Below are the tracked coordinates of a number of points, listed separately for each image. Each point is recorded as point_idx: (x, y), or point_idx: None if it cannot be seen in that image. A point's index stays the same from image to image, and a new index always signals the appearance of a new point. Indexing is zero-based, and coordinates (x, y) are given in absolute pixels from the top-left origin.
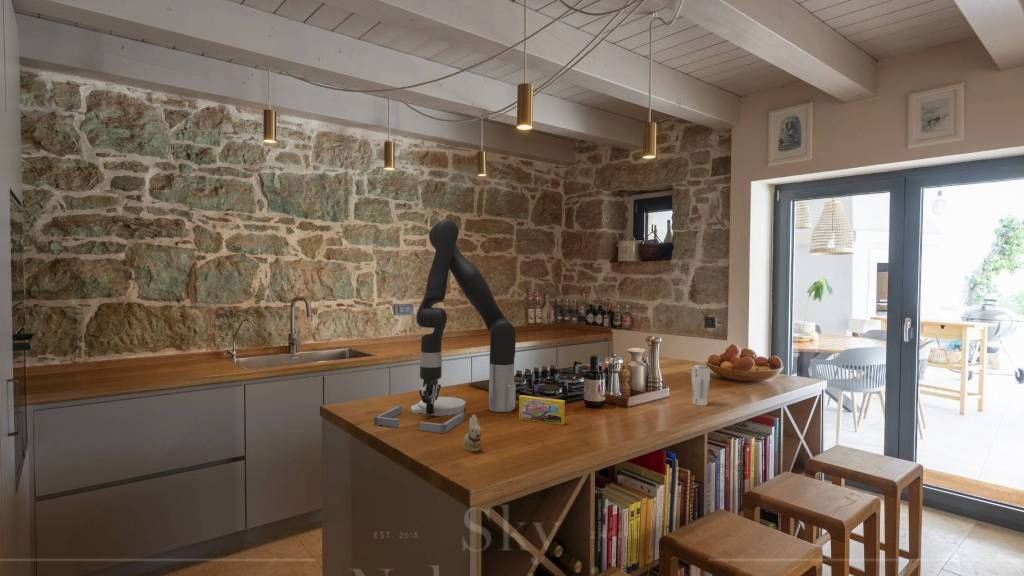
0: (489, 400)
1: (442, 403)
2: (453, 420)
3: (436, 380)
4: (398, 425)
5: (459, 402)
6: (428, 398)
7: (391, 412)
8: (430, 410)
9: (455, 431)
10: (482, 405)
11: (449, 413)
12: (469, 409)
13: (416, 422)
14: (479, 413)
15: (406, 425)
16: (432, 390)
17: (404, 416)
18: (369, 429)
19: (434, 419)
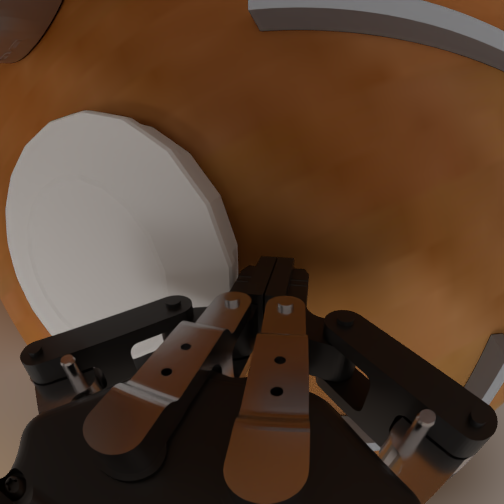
0: (8, 29)
1: (94, 265)
2: (467, 17)
3: (52, 470)
4: (499, 339)
5: (41, 169)
6: (394, 352)
7: (361, 437)
8: (299, 278)
9: (495, 17)
10: (5, 112)
11: (183, 155)
12: (53, 118)
13: (421, 294)
14: (97, 26)
15: (473, 316)
16: (309, 415)
17: (316, 387)
18: (500, 398)
19: (330, 211)
